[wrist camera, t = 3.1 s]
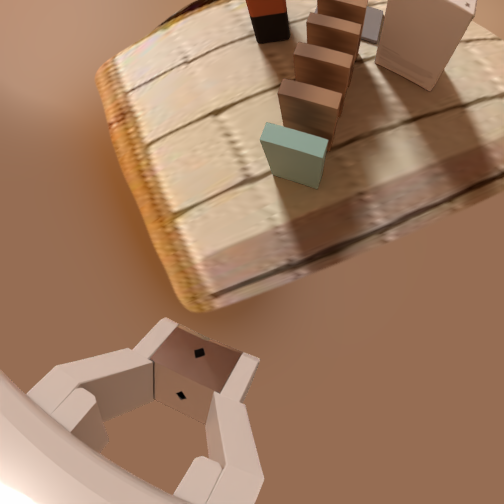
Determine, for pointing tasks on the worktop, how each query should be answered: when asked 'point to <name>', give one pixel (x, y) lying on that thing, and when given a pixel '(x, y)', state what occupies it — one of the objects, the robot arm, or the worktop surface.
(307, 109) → the domino
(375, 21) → the pad
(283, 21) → the battery
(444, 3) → the skincare box
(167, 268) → the worktop surface
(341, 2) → the domino
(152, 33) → the worktop surface
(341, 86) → the domino
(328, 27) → the domino
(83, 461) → the robot arm
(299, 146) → the domino end
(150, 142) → the worktop surface
